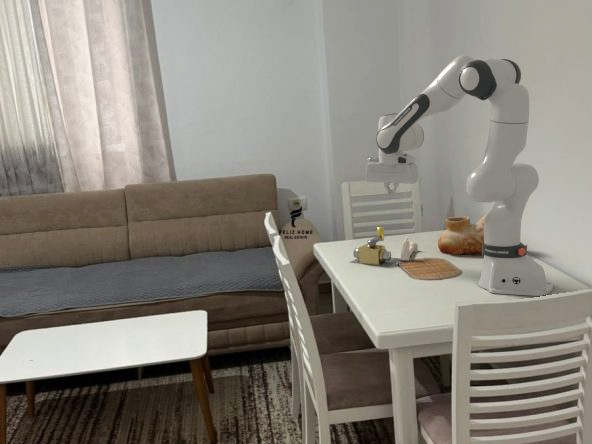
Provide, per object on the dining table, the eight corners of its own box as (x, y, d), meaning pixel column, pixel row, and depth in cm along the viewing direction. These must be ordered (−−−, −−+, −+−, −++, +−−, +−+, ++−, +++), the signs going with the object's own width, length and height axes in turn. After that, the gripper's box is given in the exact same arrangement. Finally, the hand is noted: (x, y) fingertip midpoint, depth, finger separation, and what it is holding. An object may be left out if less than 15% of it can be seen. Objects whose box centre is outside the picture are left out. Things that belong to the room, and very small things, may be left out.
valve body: (392, 261, 232) (392, 246, 231) (386, 266, 227) (385, 250, 226) (359, 258, 240) (358, 243, 238) (352, 262, 235) (351, 247, 233)
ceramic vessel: (510, 255, 233) (510, 216, 230) (439, 256, 237) (438, 218, 234) (504, 246, 246) (504, 209, 243) (436, 247, 250) (436, 211, 247)
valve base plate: (401, 259, 236) (401, 258, 236) (388, 267, 226) (388, 266, 226) (363, 255, 245) (363, 254, 245) (349, 263, 235) (349, 262, 235)
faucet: (418, 263, 247) (419, 238, 248) (409, 260, 231) (410, 234, 232) (408, 262, 248) (409, 238, 249) (398, 259, 232) (400, 233, 233)
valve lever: (373, 247, 230) (373, 233, 229) (366, 246, 232) (365, 232, 230) (386, 241, 239) (385, 227, 238) (378, 240, 240) (378, 226, 239)
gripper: (361, 158, 232) (362, 194, 235) (413, 159, 221) (413, 197, 224) (369, 156, 237) (370, 191, 240) (419, 157, 226) (420, 194, 229)
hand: (391, 194), depth 232 cm, fingers closed
